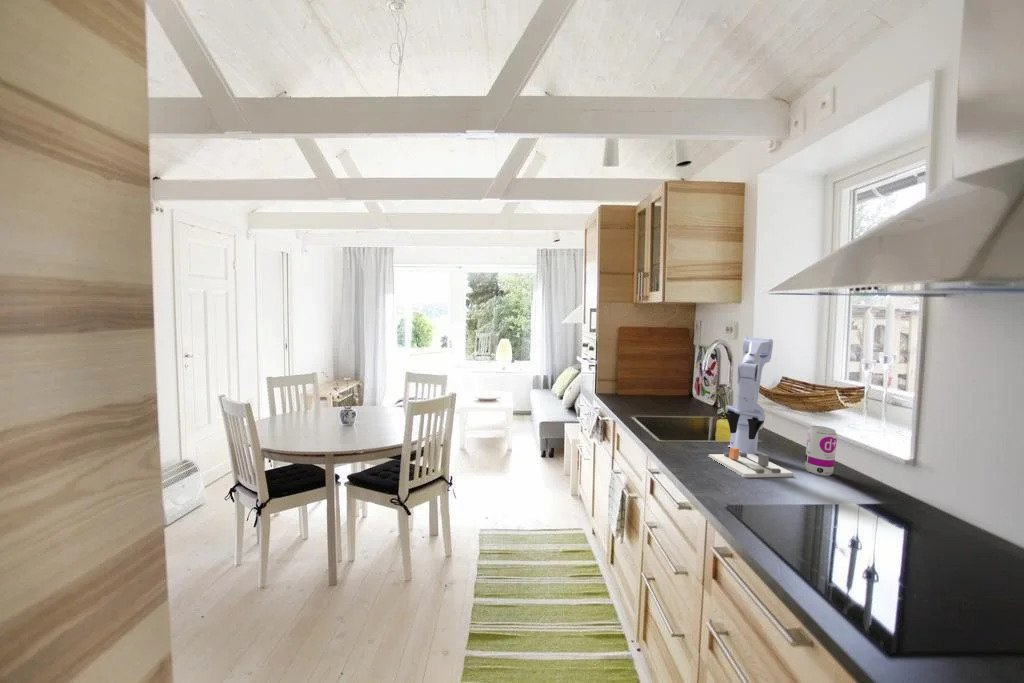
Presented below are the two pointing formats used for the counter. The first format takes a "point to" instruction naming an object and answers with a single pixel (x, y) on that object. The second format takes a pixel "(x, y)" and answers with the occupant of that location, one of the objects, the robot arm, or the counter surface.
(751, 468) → the panel
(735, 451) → the fader orange
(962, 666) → the counter surface
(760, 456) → the grey rectangular box
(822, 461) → the supplement can
